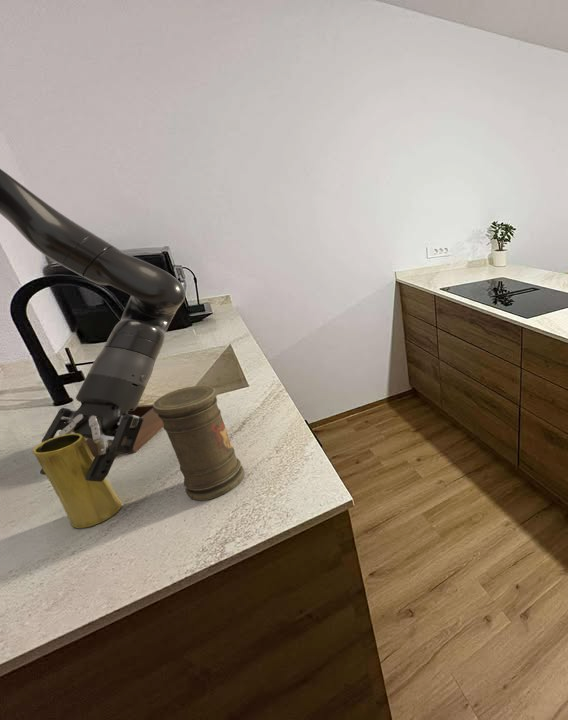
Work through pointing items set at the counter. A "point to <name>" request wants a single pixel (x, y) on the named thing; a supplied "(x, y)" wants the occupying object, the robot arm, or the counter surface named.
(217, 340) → the counter surface
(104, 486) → the vase
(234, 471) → the container
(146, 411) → the tray
